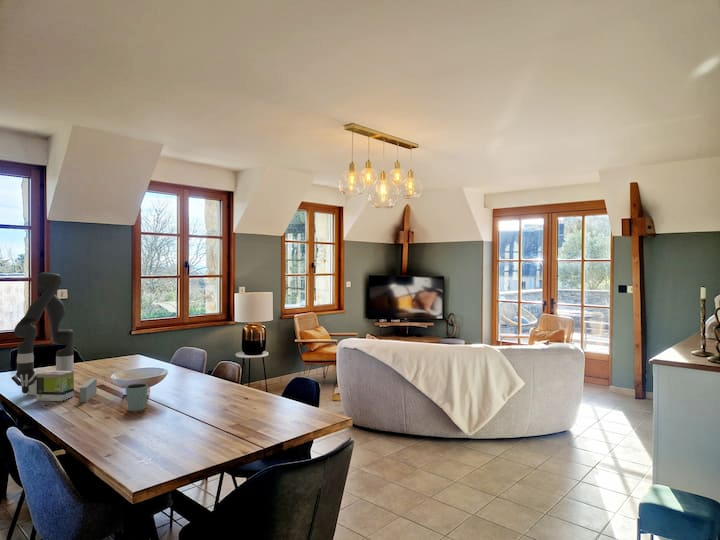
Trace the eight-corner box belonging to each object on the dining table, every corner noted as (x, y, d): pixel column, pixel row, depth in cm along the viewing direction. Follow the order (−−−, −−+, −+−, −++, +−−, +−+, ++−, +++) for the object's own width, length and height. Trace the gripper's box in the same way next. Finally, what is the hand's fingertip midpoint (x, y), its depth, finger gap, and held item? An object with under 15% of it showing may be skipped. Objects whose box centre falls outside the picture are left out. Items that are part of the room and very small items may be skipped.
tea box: (74, 396, 272) (74, 370, 272) (61, 402, 262) (61, 374, 262) (49, 396, 274) (49, 369, 274) (35, 400, 264) (35, 373, 264)
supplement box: (26, 394, 276) (26, 372, 276) (39, 391, 283) (39, 369, 283) (35, 396, 273) (35, 373, 273) (48, 392, 280) (48, 371, 280)
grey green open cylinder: (151, 407, 254) (151, 384, 253) (134, 412, 245) (134, 389, 245) (138, 404, 258) (138, 382, 258) (121, 409, 249) (121, 386, 249)
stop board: (90, 392, 283) (90, 378, 283) (96, 391, 284) (96, 378, 283) (80, 402, 262) (80, 387, 261) (86, 402, 262) (86, 387, 262)
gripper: (41, 359, 269) (41, 390, 270) (14, 360, 266) (14, 392, 266) (36, 362, 262) (36, 394, 262) (8, 363, 259) (8, 395, 259)
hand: (25, 393), depth 264 cm, fingers closed
